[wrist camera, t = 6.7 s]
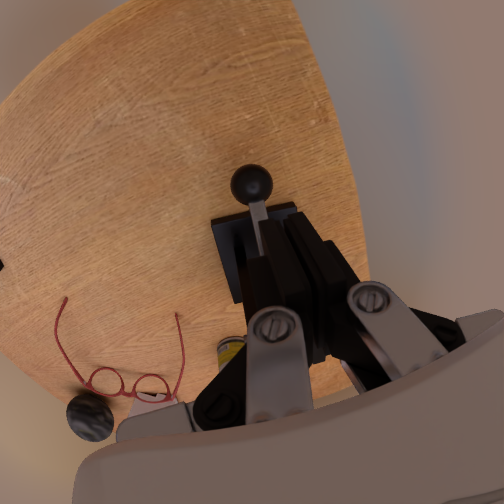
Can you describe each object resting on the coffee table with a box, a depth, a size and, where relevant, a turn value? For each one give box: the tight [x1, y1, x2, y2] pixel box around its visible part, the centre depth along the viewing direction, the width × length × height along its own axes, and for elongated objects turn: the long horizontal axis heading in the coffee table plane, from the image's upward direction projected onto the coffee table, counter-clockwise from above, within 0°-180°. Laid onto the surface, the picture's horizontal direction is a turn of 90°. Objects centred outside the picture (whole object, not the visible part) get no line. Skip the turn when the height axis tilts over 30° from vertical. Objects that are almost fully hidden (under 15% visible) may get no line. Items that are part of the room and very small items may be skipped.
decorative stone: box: [66, 394, 114, 442], centre depth 37 cm, size 10×10×10 cm
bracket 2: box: [211, 202, 326, 364], centre depth 23 cm, size 10×8×13 cm
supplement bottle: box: [217, 337, 244, 372], centre depth 32 cm, size 5×5×8 cm
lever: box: [230, 164, 273, 256], centre depth 19 cm, size 14×3×3 cm
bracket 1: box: [127, 392, 178, 418], centre depth 41 cm, size 13×7×8 cm, turn 176°
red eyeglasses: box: [54, 297, 185, 403], centre depth 31 cm, size 17×16×5 cm
